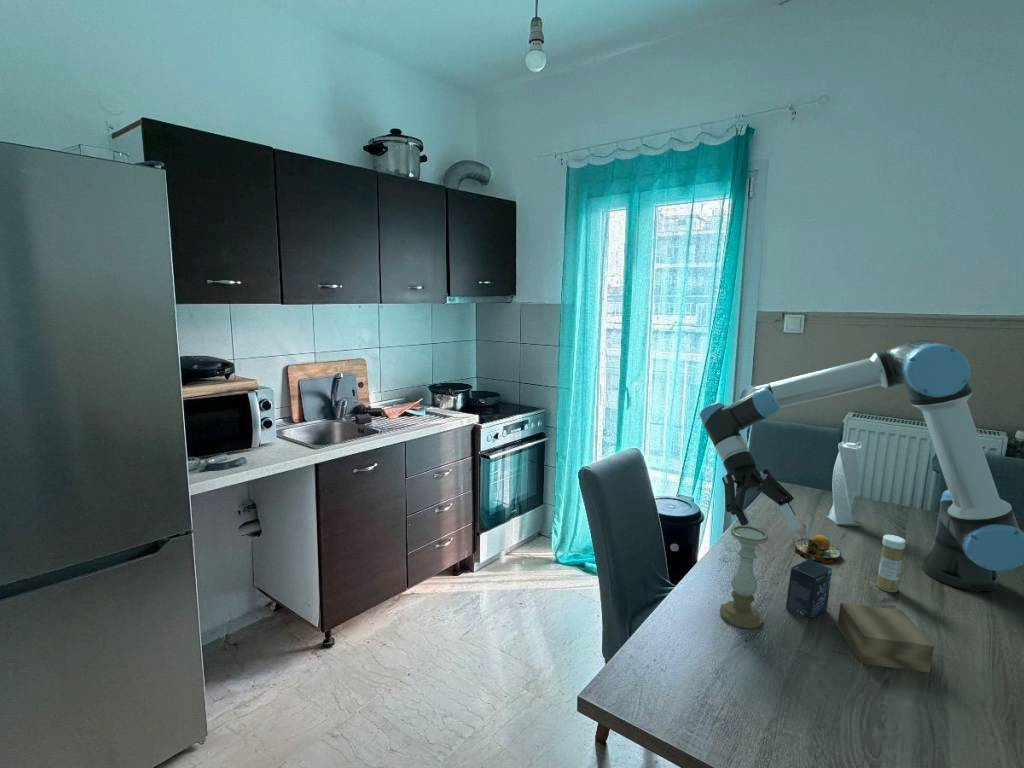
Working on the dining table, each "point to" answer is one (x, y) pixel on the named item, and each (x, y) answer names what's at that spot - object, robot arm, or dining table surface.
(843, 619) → the tan square block
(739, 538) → the candle holder
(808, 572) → the box
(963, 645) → the dining table surface
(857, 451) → the skyscraper
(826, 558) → the burger
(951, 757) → the dining table surface
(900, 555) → the sprinkles bottle
